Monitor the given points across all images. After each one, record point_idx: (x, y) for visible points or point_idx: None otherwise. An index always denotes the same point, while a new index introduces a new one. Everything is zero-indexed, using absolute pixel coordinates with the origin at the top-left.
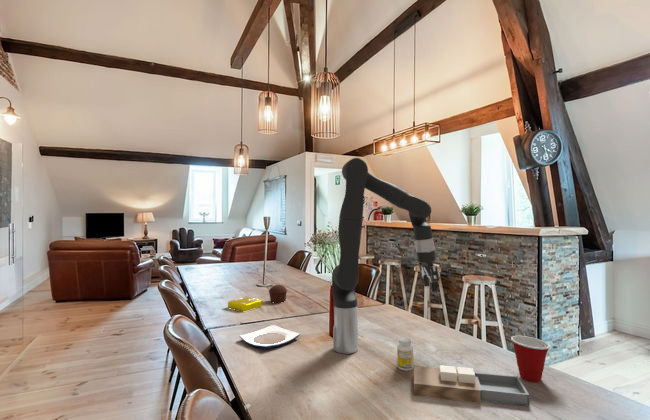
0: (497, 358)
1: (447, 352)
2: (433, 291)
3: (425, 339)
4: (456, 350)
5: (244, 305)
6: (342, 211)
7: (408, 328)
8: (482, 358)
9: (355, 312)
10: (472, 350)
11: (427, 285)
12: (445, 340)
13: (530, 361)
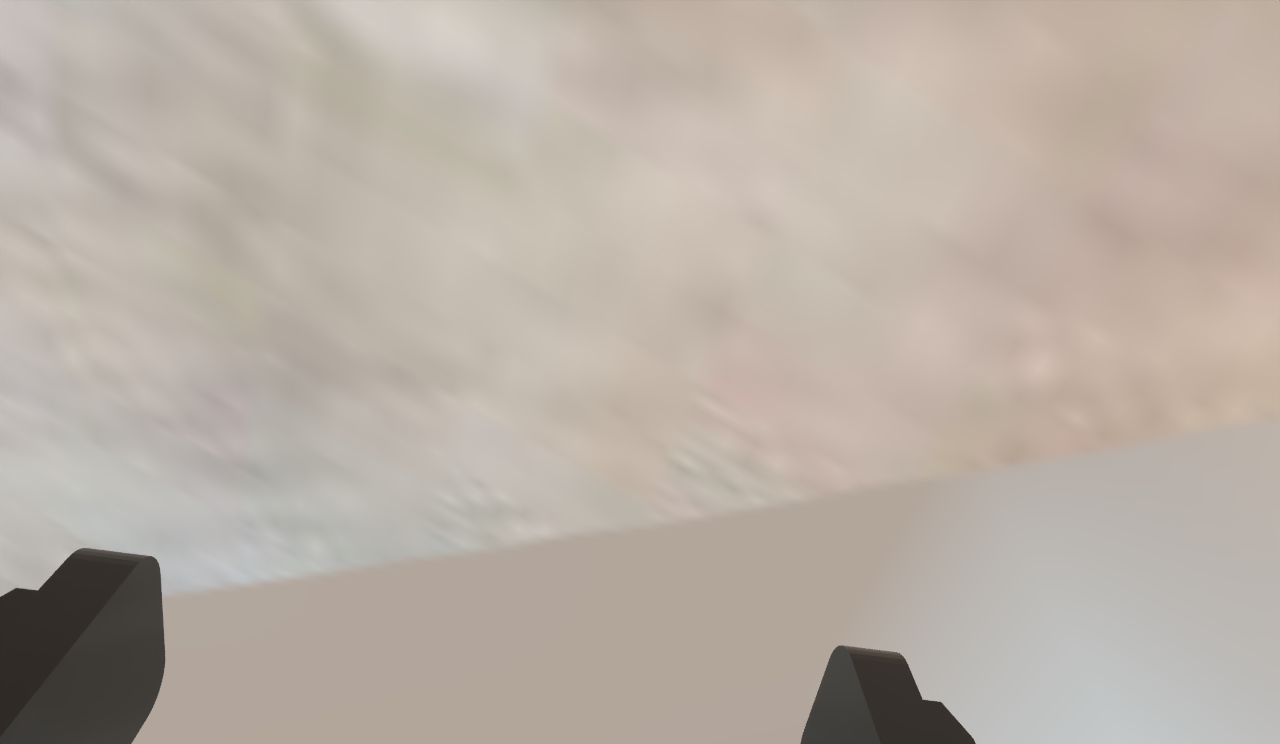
0: (89, 453)
1: (255, 118)
2: (97, 560)
3: (689, 96)
4: (301, 241)
5: None
6: None
7: (1123, 96)
8: (87, 347)
9: None
10: (284, 377)
11: (817, 729)
12: (588, 292)
13: None
